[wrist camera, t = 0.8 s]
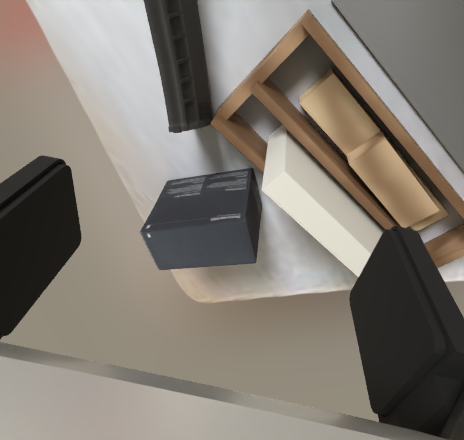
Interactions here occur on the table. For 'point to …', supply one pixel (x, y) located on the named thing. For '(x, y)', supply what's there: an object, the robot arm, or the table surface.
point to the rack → (255, 148)
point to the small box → (205, 221)
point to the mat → (419, 57)
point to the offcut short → (391, 180)
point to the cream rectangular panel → (318, 201)
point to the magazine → (180, 62)
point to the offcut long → (351, 125)
